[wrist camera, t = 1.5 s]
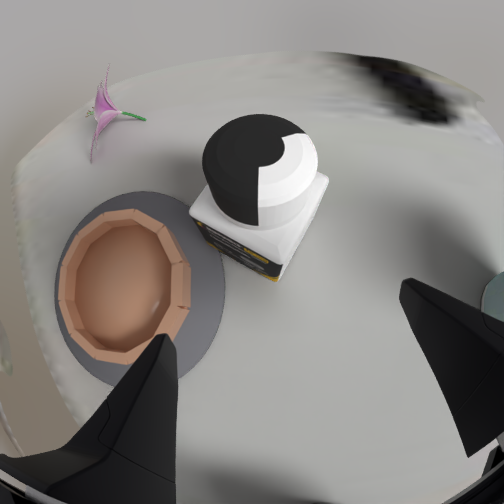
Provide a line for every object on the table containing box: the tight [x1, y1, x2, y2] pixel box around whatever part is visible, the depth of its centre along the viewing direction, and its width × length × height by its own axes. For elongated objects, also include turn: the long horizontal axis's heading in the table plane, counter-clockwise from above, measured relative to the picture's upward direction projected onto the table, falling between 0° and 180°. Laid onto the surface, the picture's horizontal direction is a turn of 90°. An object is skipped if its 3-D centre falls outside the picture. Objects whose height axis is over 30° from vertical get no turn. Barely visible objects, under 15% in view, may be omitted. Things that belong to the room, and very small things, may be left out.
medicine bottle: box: [189, 114, 329, 282], centre depth 19 cm, size 7×7×12 cm
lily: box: [86, 66, 146, 159], centre depth 26 cm, size 12×12×10 cm
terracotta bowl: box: [58, 209, 191, 365], centre depth 23 cm, size 14×14×2 cm
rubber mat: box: [55, 191, 225, 387], centre depth 24 cm, size 20×20×1 cm
